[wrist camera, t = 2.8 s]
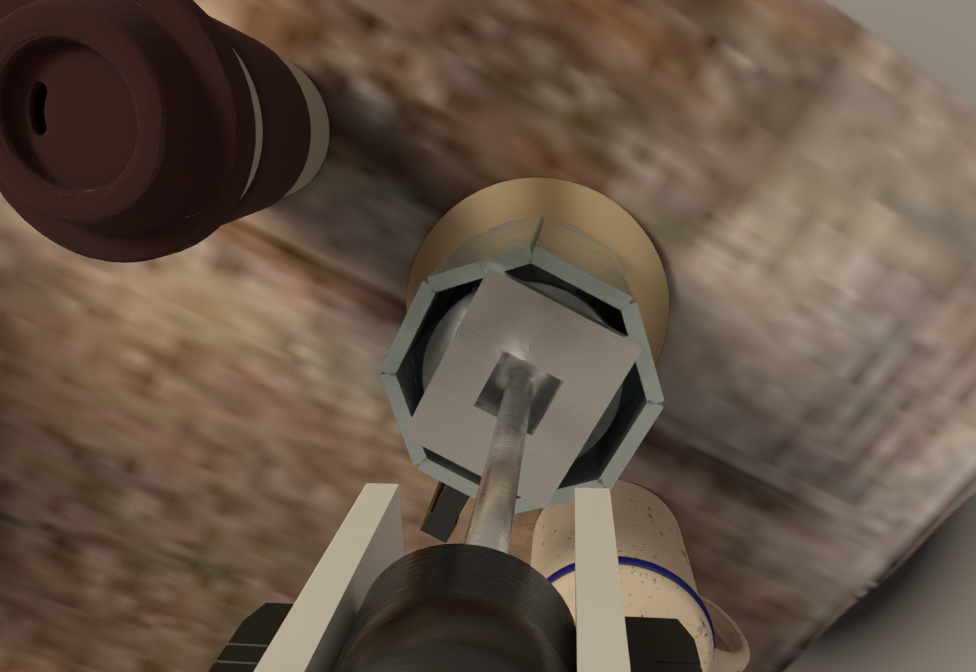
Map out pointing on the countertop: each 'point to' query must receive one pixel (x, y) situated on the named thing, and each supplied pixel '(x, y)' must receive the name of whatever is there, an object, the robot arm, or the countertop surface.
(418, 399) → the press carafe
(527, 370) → the plunger
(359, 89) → the countertop surface
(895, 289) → the countertop surface
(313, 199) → the countertop surface
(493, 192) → the cork trivet
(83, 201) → the coffee cup
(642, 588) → the teacup with lid
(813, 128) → the countertop surface
